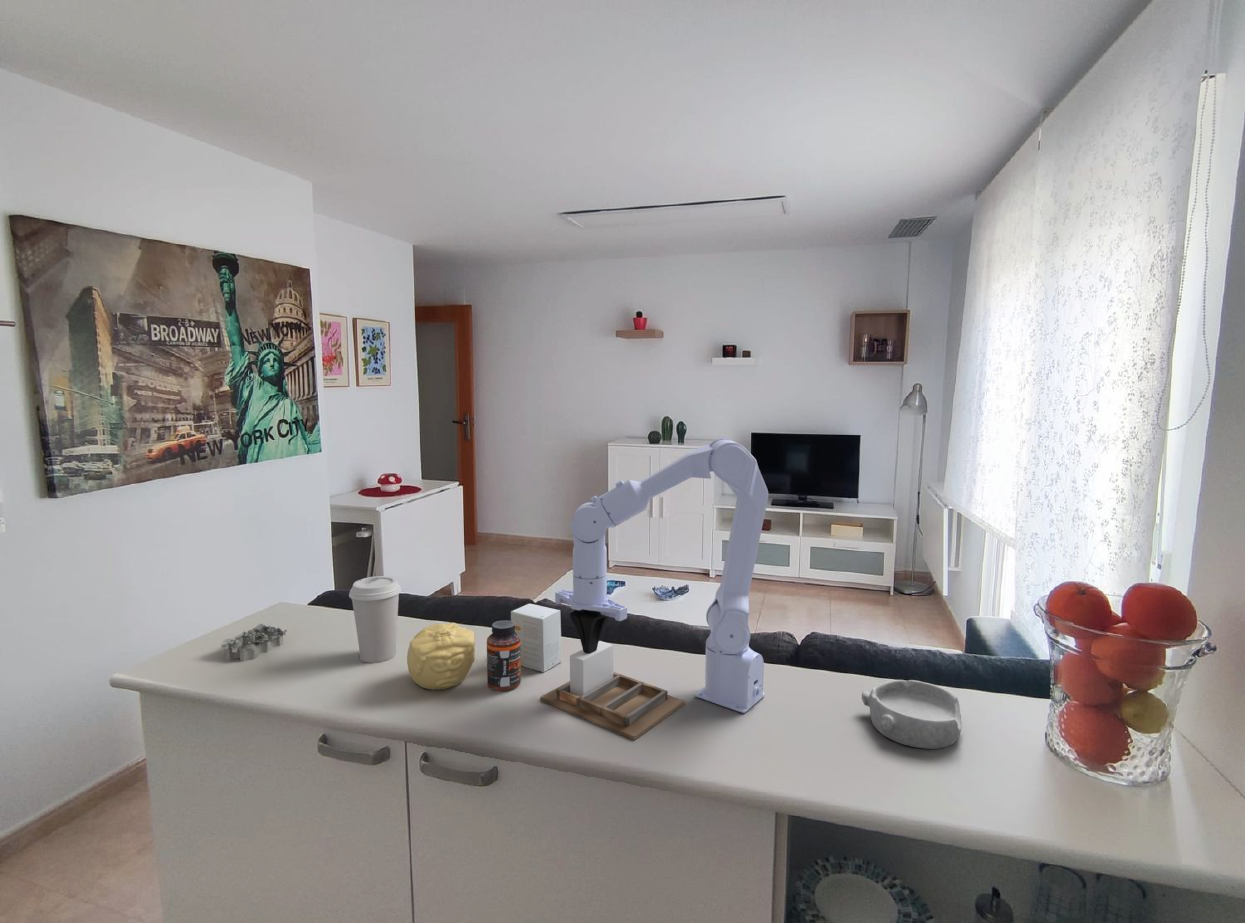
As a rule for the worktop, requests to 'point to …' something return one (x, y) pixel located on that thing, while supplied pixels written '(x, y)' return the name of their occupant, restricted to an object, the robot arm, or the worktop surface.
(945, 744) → the dish
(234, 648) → the egg carton
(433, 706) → the worktop surface
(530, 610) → the small box
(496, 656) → the supplement bottle
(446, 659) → the sculpture
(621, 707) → the slot rack
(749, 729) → the worktop surface
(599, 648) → the blanking panel
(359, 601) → the coffee cup
